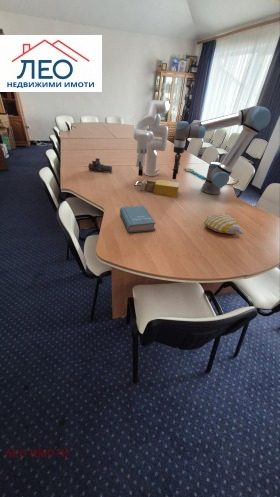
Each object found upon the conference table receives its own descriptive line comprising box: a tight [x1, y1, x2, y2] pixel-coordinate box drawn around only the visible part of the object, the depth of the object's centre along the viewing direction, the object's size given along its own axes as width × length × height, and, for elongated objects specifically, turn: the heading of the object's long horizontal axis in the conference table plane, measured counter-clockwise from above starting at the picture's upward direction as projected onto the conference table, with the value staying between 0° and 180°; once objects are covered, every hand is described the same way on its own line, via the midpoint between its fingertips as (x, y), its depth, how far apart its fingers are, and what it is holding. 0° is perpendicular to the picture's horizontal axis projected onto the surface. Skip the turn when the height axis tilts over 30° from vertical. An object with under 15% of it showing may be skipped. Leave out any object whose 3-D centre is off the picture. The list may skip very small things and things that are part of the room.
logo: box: [183, 167, 206, 180], centre depth 223 cm, size 34×10×1 cm, turn 16°
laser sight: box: [88, 158, 113, 173], centre depth 208 cm, size 10×22×10 cm, turn 78°
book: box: [119, 205, 156, 233], centre depth 136 cm, size 23×16×5 cm
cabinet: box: [153, 179, 180, 198], centre depth 176 cm, size 18×11×8 cm, turn 77°
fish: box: [203, 213, 245, 235], centre depth 133 cm, size 25×8×20 cm
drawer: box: [133, 178, 156, 192], centre depth 178 cm, size 23×10×6 cm, turn 77°
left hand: (140, 175), depth 175 cm, fingers closed
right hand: (175, 176), depth 169 cm, fingers open, 13 cm apart
